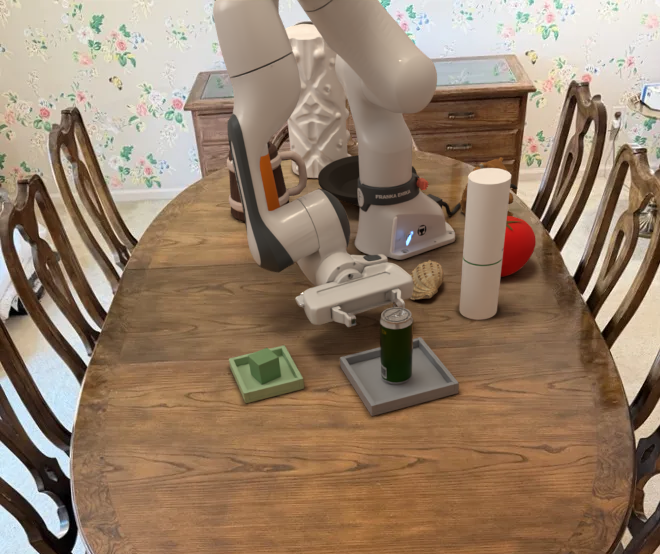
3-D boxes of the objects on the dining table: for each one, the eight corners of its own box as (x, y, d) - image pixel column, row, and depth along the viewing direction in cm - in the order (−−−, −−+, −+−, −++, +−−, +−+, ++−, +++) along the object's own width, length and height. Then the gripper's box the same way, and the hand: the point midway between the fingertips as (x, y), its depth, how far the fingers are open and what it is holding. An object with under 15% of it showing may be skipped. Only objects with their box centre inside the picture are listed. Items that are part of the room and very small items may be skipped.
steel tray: (420, 346, 132) (420, 336, 130) (458, 393, 121) (459, 382, 119) (340, 367, 129) (339, 357, 127) (371, 416, 118) (371, 406, 117)
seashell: (448, 309, 146) (438, 268, 149) (452, 290, 140) (442, 248, 143) (410, 314, 145) (401, 273, 148) (413, 295, 139) (404, 253, 143)
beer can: (393, 390, 122) (392, 327, 113) (374, 375, 125) (373, 313, 117) (418, 378, 124) (419, 315, 115) (399, 364, 127) (399, 302, 118)
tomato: (465, 285, 146) (468, 235, 139) (460, 256, 155) (463, 207, 148) (536, 282, 145) (544, 232, 137) (527, 253, 154) (534, 204, 146)
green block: (270, 366, 129) (267, 347, 127) (281, 376, 127) (278, 356, 124) (250, 374, 128) (247, 355, 125) (261, 384, 126) (258, 365, 123)
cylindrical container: (499, 302, 140) (514, 169, 123) (493, 321, 136) (507, 185, 118) (463, 298, 142) (472, 166, 125) (455, 317, 138) (464, 182, 120)
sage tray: (285, 354, 133) (284, 344, 131) (304, 388, 125) (303, 378, 123) (230, 368, 131) (228, 358, 129) (245, 403, 123) (243, 393, 122)
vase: (284, 180, 192) (269, 39, 169) (296, 157, 203) (283, 22, 180) (347, 179, 189) (340, 36, 166) (356, 156, 200) (350, 19, 177)
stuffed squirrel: (484, 233, 162) (489, 172, 152) (446, 213, 171) (449, 154, 161) (519, 221, 165) (526, 161, 155) (480, 202, 174) (484, 143, 164)
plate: (428, 214, 171) (429, 190, 167) (329, 228, 169) (328, 204, 165) (401, 171, 190) (401, 149, 186) (312, 183, 189) (310, 161, 185)
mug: (234, 228, 173) (223, 162, 162) (227, 204, 183) (217, 141, 172) (315, 215, 175) (309, 150, 164) (304, 192, 185) (298, 129, 174)
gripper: (289, 280, 128) (320, 315, 119) (391, 251, 133) (428, 282, 124) (293, 312, 133) (323, 347, 124) (392, 283, 138) (427, 315, 129)
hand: (377, 315), depth 124 cm, fingers open, 8 cm apart
